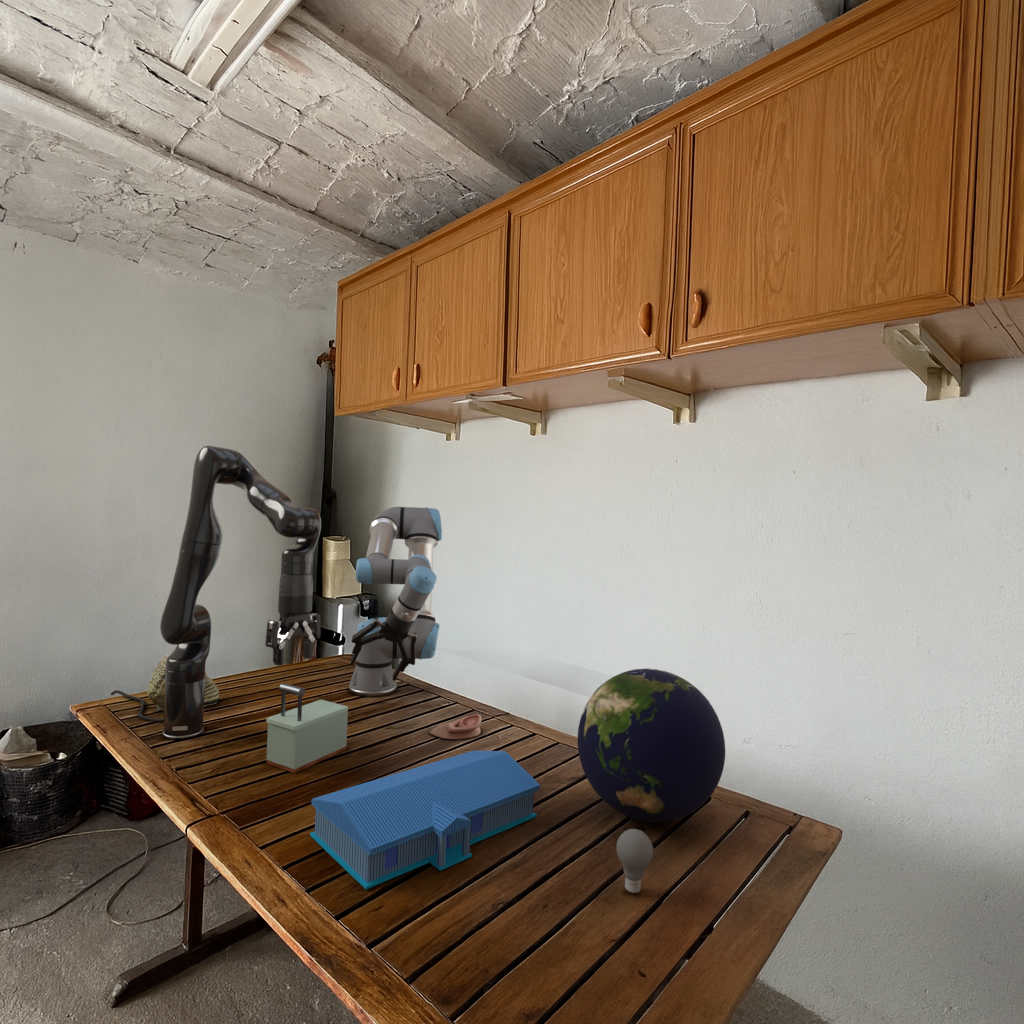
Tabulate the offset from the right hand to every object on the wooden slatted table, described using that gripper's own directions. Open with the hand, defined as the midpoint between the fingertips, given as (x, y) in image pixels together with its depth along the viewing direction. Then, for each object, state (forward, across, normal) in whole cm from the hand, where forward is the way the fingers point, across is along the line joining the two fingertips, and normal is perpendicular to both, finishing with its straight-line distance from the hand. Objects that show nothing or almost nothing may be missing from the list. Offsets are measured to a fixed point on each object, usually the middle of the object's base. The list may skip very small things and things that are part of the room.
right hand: (373, 670), depth 191 cm
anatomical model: (-7, +24, -24) cm, 34 cm away
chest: (+3, -12, -38) cm, 40 cm away
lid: (-5, -16, -34) cm, 38 cm away
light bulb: (-40, +37, -91) cm, 107 cm away
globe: (-37, +51, -68) cm, 93 cm away
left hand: (-18, -25, -33) cm, 45 cm away
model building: (-20, +10, -71) cm, 75 cm away
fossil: (+32, -45, -3) cm, 55 cm away
